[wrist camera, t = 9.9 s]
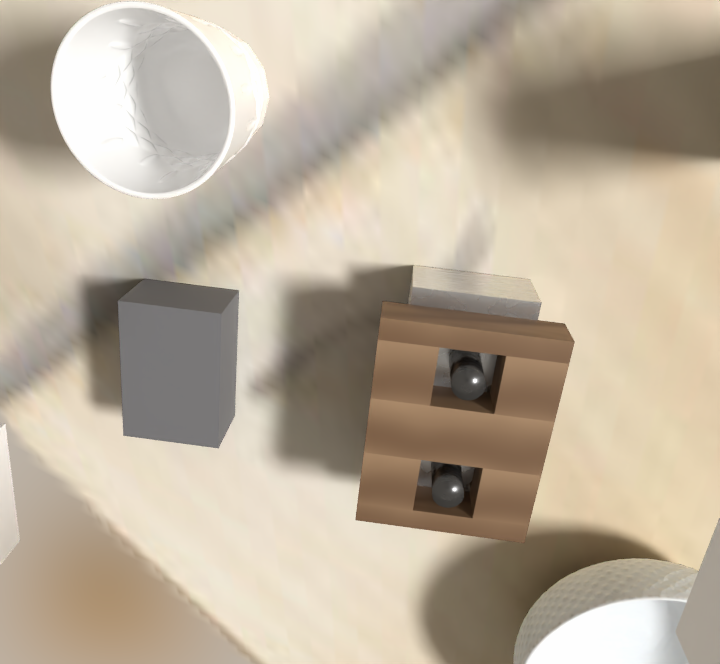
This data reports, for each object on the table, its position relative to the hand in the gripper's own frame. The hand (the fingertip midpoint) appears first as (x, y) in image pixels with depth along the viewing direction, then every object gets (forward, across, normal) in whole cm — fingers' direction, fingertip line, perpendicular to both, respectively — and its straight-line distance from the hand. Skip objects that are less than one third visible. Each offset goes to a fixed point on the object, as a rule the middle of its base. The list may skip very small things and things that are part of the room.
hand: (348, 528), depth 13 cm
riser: (+29, -12, -11) cm, 33 cm away
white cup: (+29, -11, +5) cm, 31 cm away
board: (+25, +5, -11) cm, 27 cm away
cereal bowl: (+29, +20, -28) cm, 45 cm away
